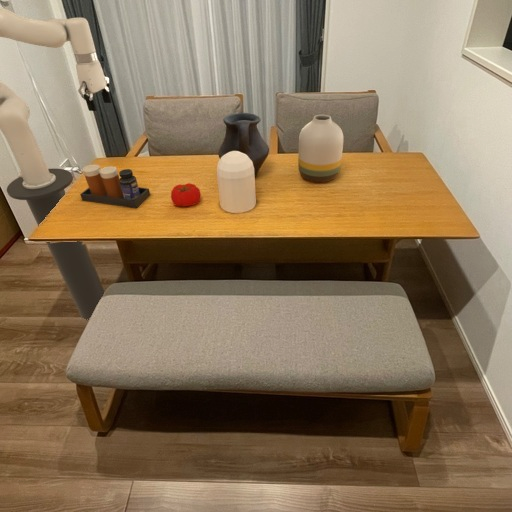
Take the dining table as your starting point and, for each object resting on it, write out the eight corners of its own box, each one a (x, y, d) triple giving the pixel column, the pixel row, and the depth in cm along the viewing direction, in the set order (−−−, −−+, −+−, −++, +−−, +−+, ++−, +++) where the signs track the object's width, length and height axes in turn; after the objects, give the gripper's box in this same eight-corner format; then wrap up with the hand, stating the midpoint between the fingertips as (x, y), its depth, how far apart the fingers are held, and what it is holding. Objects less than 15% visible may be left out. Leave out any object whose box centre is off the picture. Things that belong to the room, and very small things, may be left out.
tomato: (172, 198, 148) (168, 183, 144) (200, 194, 150) (198, 179, 146) (173, 211, 141) (169, 195, 137) (202, 207, 142) (200, 191, 138)
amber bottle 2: (104, 198, 149) (95, 172, 142) (113, 191, 153) (105, 165, 146) (118, 200, 147) (110, 174, 140) (127, 192, 152) (119, 167, 145)
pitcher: (266, 161, 171) (264, 103, 155) (273, 184, 154) (272, 122, 138) (219, 165, 169) (213, 107, 154) (222, 189, 152) (215, 126, 137)
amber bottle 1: (88, 196, 150) (78, 170, 144) (97, 189, 155) (89, 163, 148) (101, 198, 149) (92, 172, 142) (110, 190, 153) (102, 165, 147)
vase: (317, 163, 167) (320, 106, 152) (348, 176, 156) (355, 116, 142) (289, 176, 158) (289, 117, 143) (320, 190, 148) (324, 129, 133)
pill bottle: (138, 202, 146) (131, 175, 139) (122, 202, 146) (114, 175, 139) (142, 193, 150) (135, 167, 144) (127, 194, 151) (119, 168, 144)
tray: (82, 200, 150) (80, 194, 148) (98, 188, 157) (96, 181, 156) (136, 208, 144) (134, 201, 142) (150, 194, 151) (148, 188, 149)
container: (259, 210, 139) (257, 158, 126) (222, 215, 137) (216, 163, 125) (252, 192, 149) (249, 142, 137) (218, 197, 148) (212, 147, 135)
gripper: (92, 52, 146) (105, 99, 157) (62, 63, 134) (78, 113, 144) (109, 53, 145) (121, 100, 155) (80, 64, 132) (95, 114, 142)
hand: (100, 106), depth 150 cm, fingers open, 9 cm apart
